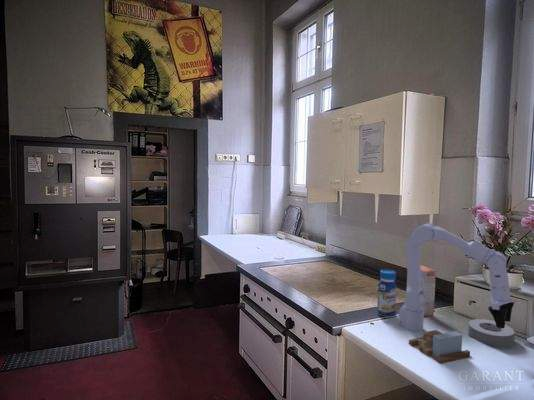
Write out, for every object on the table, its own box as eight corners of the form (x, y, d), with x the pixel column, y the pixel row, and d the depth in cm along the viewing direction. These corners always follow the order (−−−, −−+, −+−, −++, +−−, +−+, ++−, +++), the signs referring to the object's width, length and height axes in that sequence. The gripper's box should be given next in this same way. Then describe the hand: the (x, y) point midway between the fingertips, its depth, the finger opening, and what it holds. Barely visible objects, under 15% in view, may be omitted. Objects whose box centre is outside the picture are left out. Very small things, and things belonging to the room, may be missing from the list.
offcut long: (417, 344, 132) (417, 339, 132) (436, 341, 135) (436, 336, 135) (423, 348, 129) (424, 343, 129) (443, 344, 132) (443, 339, 132)
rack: (408, 346, 133) (408, 339, 133) (437, 340, 138) (437, 334, 137) (440, 366, 119) (440, 359, 119) (471, 359, 124) (472, 352, 123)
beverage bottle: (389, 310, 168) (391, 268, 166) (400, 317, 160) (401, 273, 158) (373, 311, 166) (374, 269, 165) (382, 318, 158) (384, 274, 156)
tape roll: (503, 353, 129) (504, 339, 129) (460, 337, 141) (461, 324, 141) (520, 341, 138) (521, 329, 138) (478, 327, 150) (479, 316, 150)
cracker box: (434, 316, 162) (436, 270, 160) (422, 316, 161) (424, 271, 159) (416, 304, 175) (418, 262, 174) (405, 305, 174) (407, 263, 173)
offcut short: (423, 338, 132) (423, 332, 132) (435, 336, 135) (436, 329, 134) (429, 342, 130) (429, 335, 130) (442, 339, 132) (442, 333, 132)
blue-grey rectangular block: (432, 354, 125) (433, 335, 124) (454, 350, 128) (455, 331, 128) (439, 359, 122) (440, 339, 121) (461, 354, 125) (462, 334, 125)
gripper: (507, 292, 120) (511, 332, 120) (517, 282, 130) (522, 320, 130) (483, 290, 125) (487, 329, 125) (495, 281, 135) (499, 317, 135)
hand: (503, 324), depth 128 cm, fingers open, 7 cm apart
